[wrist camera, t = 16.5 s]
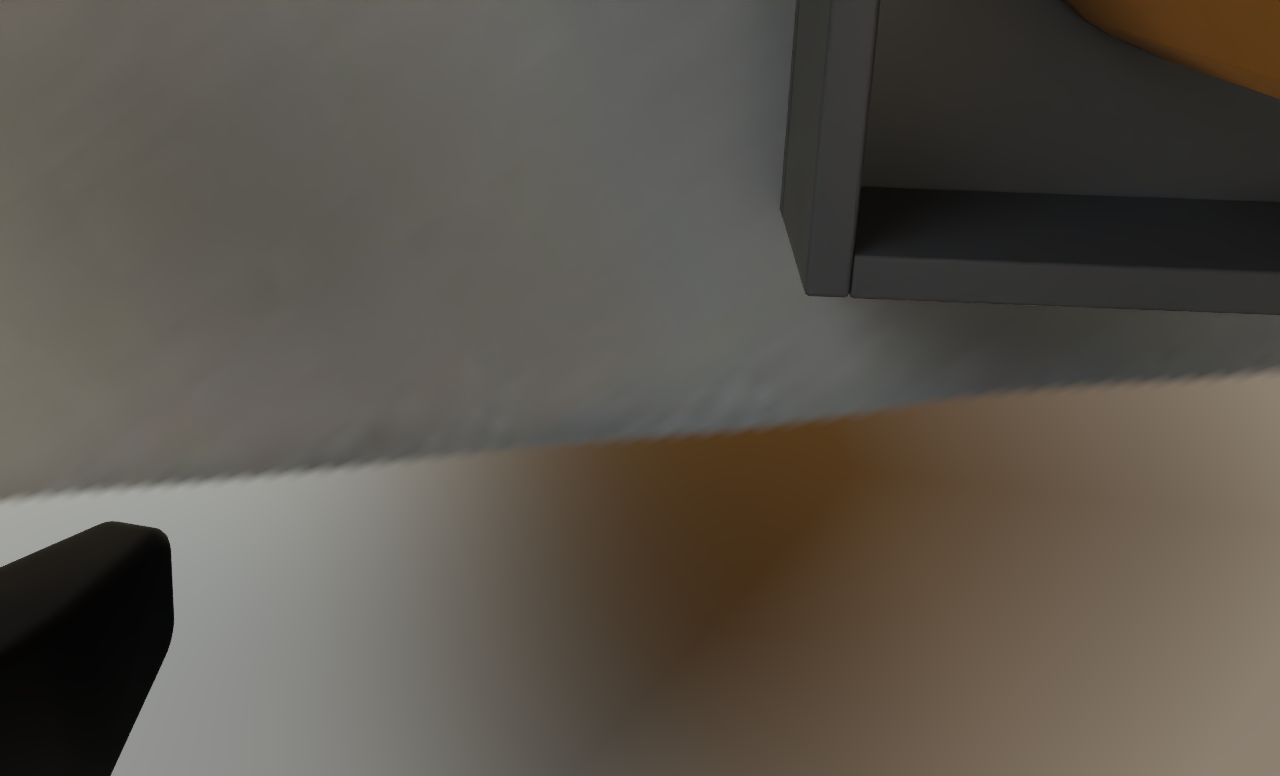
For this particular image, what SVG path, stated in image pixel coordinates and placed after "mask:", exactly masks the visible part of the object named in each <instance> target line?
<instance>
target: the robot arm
mask: <svg viewBox="0 0 1280 776" xmlns="http://www.w3.org/2000/svg"><path fill="white" fill-rule="evenodd" d="M171 566H172V565H171V548H170V543H169V540H168V537H167V536H166V534H165V533H163V532H162V531H161V530H160V529H157V528H152V527H146V526H139V525H134V524H128V523H122V522H113V521H111V522H105V523H102V524H99V525H97V526H94V527H92V528H90V529H88V530H85V531H83V532H81V533H79V534H76V535H74V536H72V537H69V538H67V539H65V540H62V541H60V542H58V543H55V544H53V545H51V546H48V547H46V548H44V549H42V550H39V551H37V552H35V553H32V554H30V555H28V556H26V557H23V558H21V559H19V560H16V561H14V562H12V563H10V564H7V565H5V566H3V567H0V776H110V775H111V773H112V771H113V769H114V767H115V764H116V762H117V760H118V758H119V756H120V754H121V751H122V749H123V747H124V745H125V743H126V741H127V738H128V736H129V734H130V732H131V730H132V728H133V725H134V723H135V721H136V719H137V717H138V715H139V712H140V710H141V708H142V706H143V704H144V702H145V699H146V697H147V695H148V693H149V691H150V688H151V686H152V684H153V682H154V680H155V678H156V675H157V673H158V671H159V669H160V667H161V665H162V662H163V660H164V658H165V656H166V653H167V651H168V648H169V645H170V642H171V638H172V633H173V626H174V608H173V587H172V567H171Z"/></svg>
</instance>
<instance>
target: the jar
mask: <svg viewBox="0 0 1280 776" xmlns="http://www.w3.org/2000/svg"><path fill="white" fill-rule="evenodd" d="M1063 1H1064V2H1065V3H1066V4H1067V5H1068V6H1070V7H1071V8H1072V9H1073V10H1075V11H1076V12H1077V13H1078V14H1079V15H1081V16H1082V17H1083V18H1084V19H1085V20H1087V21H1088V22H1089V23H1091V24H1093V25H1094V26H1096V27H1098V28H1099V29H1101V30H1103V31H1104V32H1106V33H1108V34H1109V35H1111V36H1113V37H1115V38H1118V39H1120V40H1123V41H1125V42H1128V43H1130V44H1132V45H1135V46H1137V47H1139V48H1141V49H1143V50H1145V51H1147V52H1149V53H1151V54H1153V55H1155V56H1157V57H1159V58H1161V59H1164V60H1167V61H1170V62H1173V63H1176V64H1178V65H1181V66H1184V67H1187V68H1190V69H1193V70H1196V71H1199V72H1202V73H1205V74H1207V75H1210V76H1213V77H1216V78H1219V79H1222V80H1225V81H1228V82H1231V83H1234V84H1237V85H1239V86H1242V87H1245V88H1248V89H1251V90H1254V91H1257V92H1260V93H1263V94H1266V95H1268V96H1271V97H1274V98H1277V99H1280V0H1063Z"/></svg>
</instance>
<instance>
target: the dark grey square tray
mask: <svg viewBox="0 0 1280 776" xmlns="http://www.w3.org/2000/svg"><path fill="white" fill-rule="evenodd" d="M780 210H781V214H782V217H783V220H784V223H785V226H786V230H787V233H788V237H789V240H790V243H791V247H792V250H793V254H794V257H795V261H796V264H797V267H798V271H799V274H800V278H801V281H802V284H803V288H804V291H805V294H806V295H808V296H823V297H846V296H848V295H849V293H850V296H851V297H853V298H864V299H889V300H914V301H939V302H964V303H989V304H1014V305H1039V306H1064V307H1089V308H1114V309H1139V310H1164V311H1189V312H1214V313H1239V314H1264V315H1280V99H1277V98H1274V97H1271V96H1268V95H1266V94H1263V93H1260V92H1257V91H1254V90H1251V89H1248V88H1245V87H1242V86H1239V85H1237V84H1234V83H1231V82H1228V81H1225V80H1222V79H1219V78H1216V77H1213V76H1210V75H1207V74H1205V73H1202V72H1199V71H1196V70H1193V69H1190V68H1187V67H1184V66H1181V65H1178V64H1176V63H1173V62H1170V61H1167V60H1164V59H1161V58H1159V57H1157V56H1155V55H1153V54H1151V53H1149V52H1147V51H1145V50H1143V49H1141V48H1139V47H1137V46H1135V45H1132V44H1130V43H1128V42H1125V41H1123V40H1120V39H1118V38H1115V37H1113V36H1111V35H1109V34H1108V33H1106V32H1104V31H1103V30H1101V29H1099V28H1098V27H1096V26H1094V25H1093V24H1091V23H1089V22H1088V21H1087V20H1085V19H1084V18H1083V17H1082V16H1081V15H1079V14H1078V13H1077V12H1076V11H1075V10H1073V9H1072V8H1071V7H1070V6H1068V5H1067V4H1066V3H1065V2H1064V1H1063V0H796V12H795V25H794V38H793V50H792V63H791V76H790V89H789V101H788V114H787V127H786V140H785V152H784V165H783V178H782V191H781V203H780Z"/></svg>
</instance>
